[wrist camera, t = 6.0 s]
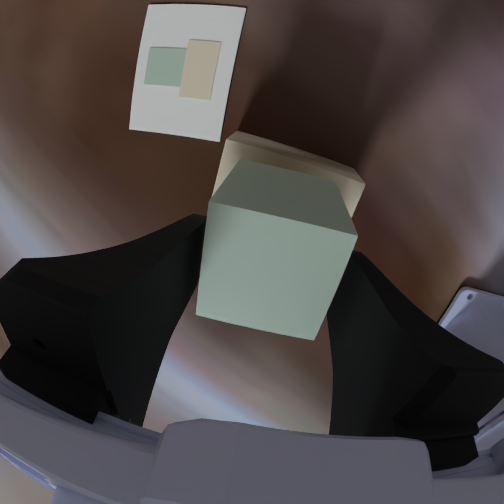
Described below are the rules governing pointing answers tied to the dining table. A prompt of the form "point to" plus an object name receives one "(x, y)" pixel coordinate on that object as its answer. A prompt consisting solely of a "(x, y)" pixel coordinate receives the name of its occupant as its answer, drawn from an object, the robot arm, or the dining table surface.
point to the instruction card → (185, 69)
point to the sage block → (274, 250)
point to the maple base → (289, 164)
